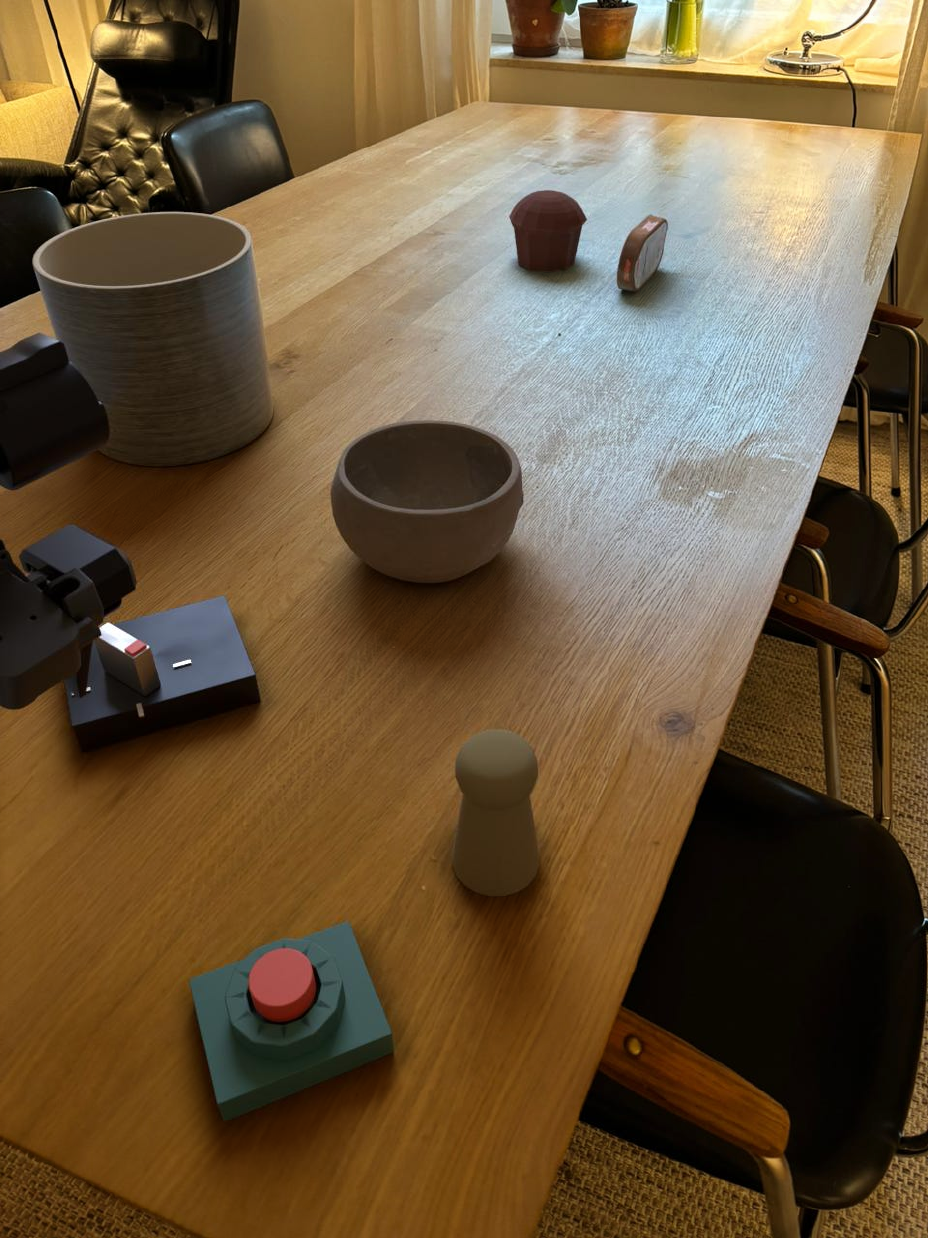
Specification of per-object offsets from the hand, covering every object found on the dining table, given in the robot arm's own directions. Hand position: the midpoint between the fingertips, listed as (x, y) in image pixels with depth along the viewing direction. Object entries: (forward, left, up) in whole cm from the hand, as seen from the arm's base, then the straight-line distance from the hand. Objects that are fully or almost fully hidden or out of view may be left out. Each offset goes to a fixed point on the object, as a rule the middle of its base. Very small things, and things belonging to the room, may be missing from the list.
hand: (15, 737), depth 61 cm
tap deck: (+9, +15, -12) cm, 21 cm away
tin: (+89, +73, -12) cm, 116 cm away
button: (+11, -18, -8) cm, 23 cm away
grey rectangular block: (+7, +13, -9) cm, 17 cm away
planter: (+19, +59, -12) cm, 63 cm away
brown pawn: (+27, -12, -12) cm, 32 cm away
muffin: (+80, +86, -12) cm, 118 cm away
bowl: (+36, +23, -12) cm, 44 cm away
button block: (+11, -18, -12) cm, 24 cm away
